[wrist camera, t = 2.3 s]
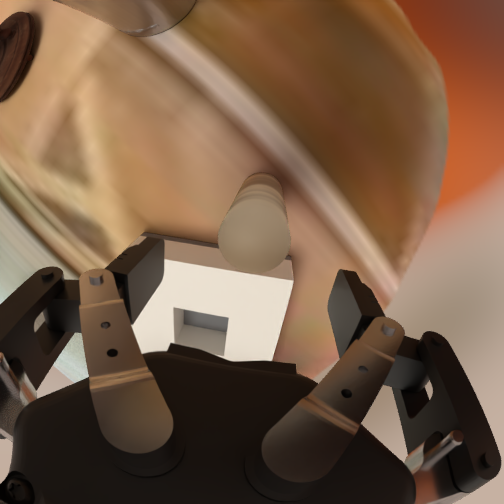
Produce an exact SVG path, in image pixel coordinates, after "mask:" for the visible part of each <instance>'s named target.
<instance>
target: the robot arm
mask: <svg viewBox="0 0 504 504" xmlns="http://www.w3.org/2000/svg"><path fill="white" fill-rule="evenodd" d="M53 1H56V2H59V3H61V4H64V5H67V6H69V7H72V8H74V9H76V10H79V11H81V12H83V13H86V14H88V15H90V16H92V17H94V18H96V19H99V20H101V21H103V22H105V23H107V24H109V25H111V26H113V27H115V28H117V29H119V30H120V31H122V32H125V33H127V34H129V35H131V36H137V37H145V36H150V35H155V34H158V33H160V32H163V31H165V30H167V29H169V28H171V27H172V26H174V25H175V24H177V23H178V22H179V21H181V20H182V19H183V18H184V17H185V16H186V15H187V14H188V12H189V11H190V10H191V8H192V7H193V5H194V3H195V1H196V0H53ZM164 255H165V242H164V239H161V238H155V237H149V236H148V237H146V238H145V239H144V240H143V241H142V242H141V243H140V244H139V245H134V246H131V247H129V248H127V249H126V250H125V251H124V252H122V254H120V255H119V256H118V257H117V259H115V260H114V261H112V262H111V263H110V264H109V265H108V266H107V267H106V268H105V269H92V270H88V271H86V272H84V273H83V274H82V275H81V276H80V278H79V280H64V275H63V271H62V270H61V269H60V268H58V267H46V268H42V269H40V270H38V271H37V272H36V273H34V274H33V275H32V276H31V277H30V278H29V279H27V280H26V281H25V282H24V283H23V284H22V285H21V286H20V287H18V288H17V289H16V290H15V291H14V292H13V293H12V294H11V295H10V296H9V297H8V298H7V299H6V300H5V301H3V302H2V303H1V304H0V439H5V438H7V439H9V440H10V441H11V442H13V451H12V460H11V465H10V470H9V473H8V475H7V477H6V479H5V480H4V481H3V482H2V483H1V484H0V504H452V503H454V502H456V501H458V500H460V499H461V498H463V497H465V496H466V495H468V494H470V493H471V492H473V491H475V490H476V489H478V488H479V487H481V486H483V485H484V484H485V483H487V482H488V481H490V480H491V479H493V478H494V477H496V475H497V474H498V472H499V471H500V468H501V456H500V453H499V450H498V447H497V444H496V442H495V439H494V436H493V434H492V431H491V428H490V426H489V423H488V421H487V418H486V416H485V414H484V411H483V409H482V407H481V405H480V403H479V400H478V398H477V396H476V394H475V392H474V390H473V387H472V386H471V383H470V381H469V379H468V377H467V375H466V373H465V372H464V370H463V368H462V366H461V364H460V362H459V360H458V358H457V357H456V355H455V353H454V351H453V349H452V348H451V346H450V344H449V343H448V341H447V340H446V339H445V338H444V337H443V336H442V335H440V334H438V333H436V332H432V331H427V332H425V333H424V334H423V335H422V337H421V339H420V340H417V339H413V338H410V337H407V336H404V335H405V331H404V329H403V327H402V326H401V325H400V324H399V323H398V322H396V321H395V320H393V319H391V318H387V317H385V314H384V313H383V311H382V309H381V307H380V305H379V303H378V301H377V299H376V298H375V296H374V294H373V292H372V290H371V289H370V288H369V287H368V286H366V285H365V284H364V283H362V282H361V280H360V279H359V277H358V275H357V273H356V272H354V271H348V270H342V269H340V270H339V271H338V273H337V276H336V279H335V282H334V285H333V288H332V291H331V294H330V297H329V301H328V314H329V317H330V321H331V325H332V329H333V333H334V337H335V341H336V345H337V349H338V353H339V358H340V359H339V361H338V362H337V363H336V364H335V365H334V367H333V368H332V369H331V370H330V371H329V373H328V374H327V375H326V376H325V377H324V378H323V379H322V381H321V382H320V383H319V384H318V383H316V382H315V381H313V380H311V379H309V378H308V377H305V376H303V375H300V374H297V373H296V364H290V363H282V362H274V361H266V360H261V361H229V360H227V359H224V358H221V357H219V356H216V355H214V354H211V353H209V352H206V351H204V350H201V349H197V348H192V347H188V346H183V345H179V344H175V343H170V345H169V347H168V350H167V351H153V352H147V353H143V354H142V353H141V350H140V347H139V345H138V342H137V339H136V337H135V334H134V331H133V328H132V326H131V325H133V324H134V323H135V321H136V319H137V318H138V316H139V315H140V313H141V312H142V310H143V309H144V307H145V306H146V304H147V303H148V301H149V300H150V298H151V297H152V295H153V294H154V292H155V291H156V289H157V288H158V287H159V285H160V284H161V282H162V280H163V276H164ZM42 312H43V316H44V319H45V321H44V322H43V323H42V325H41V326H40V327H39V328H38V329H37V331H36V332H35V331H34V323H35V320H36V318H37V317H38V316H39V315H40V314H41V313H42ZM75 332H77V333H82V338H83V345H84V352H85V358H86V363H87V369H88V374H89V377H88V378H86V379H83V380H81V381H79V382H76V383H74V384H72V385H69V386H67V387H65V388H62V389H60V390H58V391H55V392H53V393H51V394H48V395H46V396H43V397H40V398H38V399H37V392H36V391H37V389H38V388H39V386H40V384H41V382H42V381H43V380H44V378H45V376H46V375H47V373H48V372H49V370H50V369H51V367H52V365H53V364H54V362H55V361H56V359H57V358H58V356H59V355H60V353H61V352H62V350H63V349H64V347H65V346H66V345H67V343H68V342H69V340H70V339H71V337H72V336H73V335H74V333H75ZM429 380H430V382H431V384H432V387H433V394H432V397H431V399H430V400H429V397H428V395H427V392H426V389H425V385H426V384H427V383H428V381H429ZM383 385H386V386H390V387H392V390H393V394H394V398H395V401H396V405H397V409H398V413H399V417H400V421H401V425H402V429H403V434H404V438H405V442H406V447H407V452H408V456H407V457H406V460H405V463H403V462H402V461H401V460H400V459H399V458H398V457H397V456H395V455H394V454H393V453H392V452H391V451H390V450H389V449H388V448H386V447H385V446H384V445H383V444H382V443H381V442H380V441H379V440H378V439H377V438H375V436H373V435H372V434H371V433H370V432H369V431H368V430H367V429H366V428H365V427H364V426H363V425H362V424H361V422H362V421H363V419H364V418H365V416H366V414H367V413H368V411H369V409H370V407H371V406H372V404H373V402H374V400H375V399H376V397H377V395H378V393H379V391H380V389H381V388H382V386H383Z"/></svg>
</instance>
